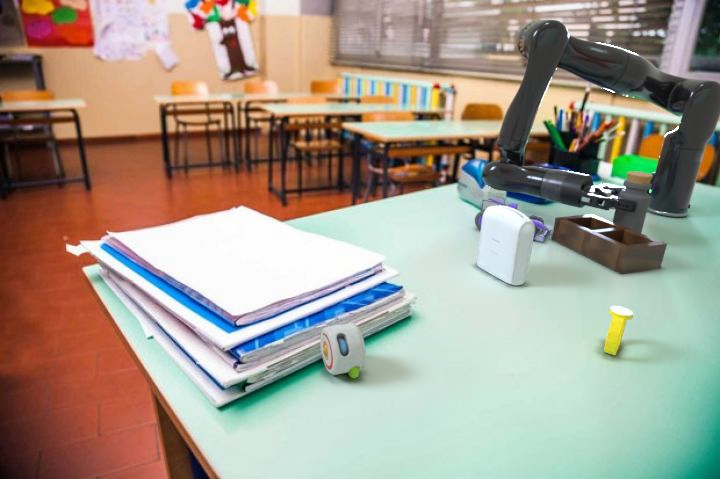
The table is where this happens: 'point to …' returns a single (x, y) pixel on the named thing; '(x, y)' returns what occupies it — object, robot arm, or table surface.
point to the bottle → (635, 192)
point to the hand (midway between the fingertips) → (643, 203)
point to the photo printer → (505, 244)
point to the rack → (609, 243)
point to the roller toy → (343, 349)
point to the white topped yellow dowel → (616, 328)
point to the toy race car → (535, 219)
